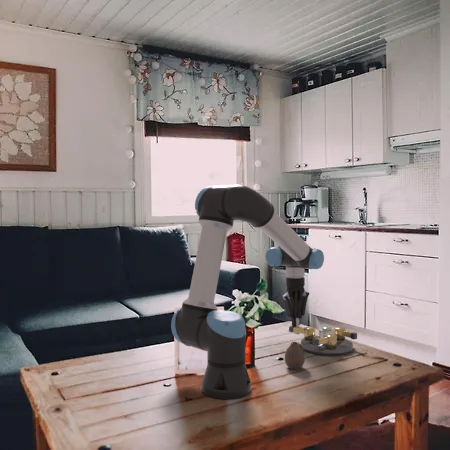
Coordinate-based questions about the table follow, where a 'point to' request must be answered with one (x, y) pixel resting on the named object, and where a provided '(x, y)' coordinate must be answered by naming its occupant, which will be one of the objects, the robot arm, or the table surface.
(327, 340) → the knob
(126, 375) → the table surface
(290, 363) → the brown egg-shaped piece
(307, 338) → the knob
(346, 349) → the levelling base
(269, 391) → the table surface
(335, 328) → the brass elongated piece
